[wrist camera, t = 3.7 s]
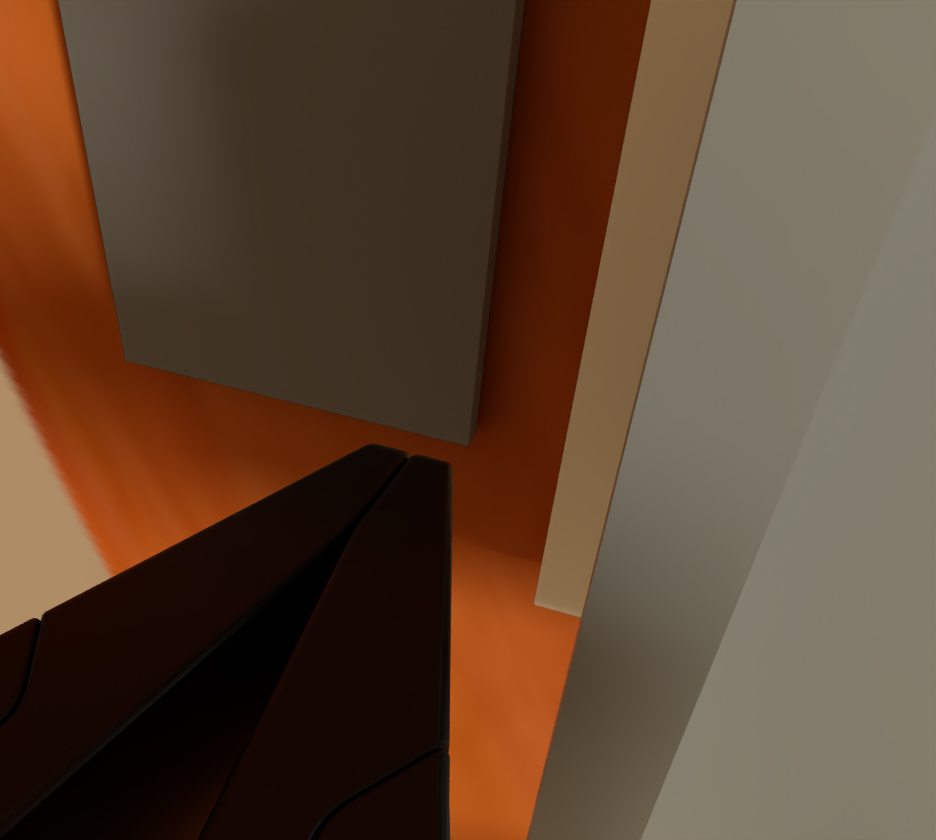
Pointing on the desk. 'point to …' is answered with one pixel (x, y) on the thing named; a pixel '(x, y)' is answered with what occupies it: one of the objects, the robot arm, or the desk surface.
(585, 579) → the white flat frame
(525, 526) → the desk surface
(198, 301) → the mat
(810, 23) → the cover
